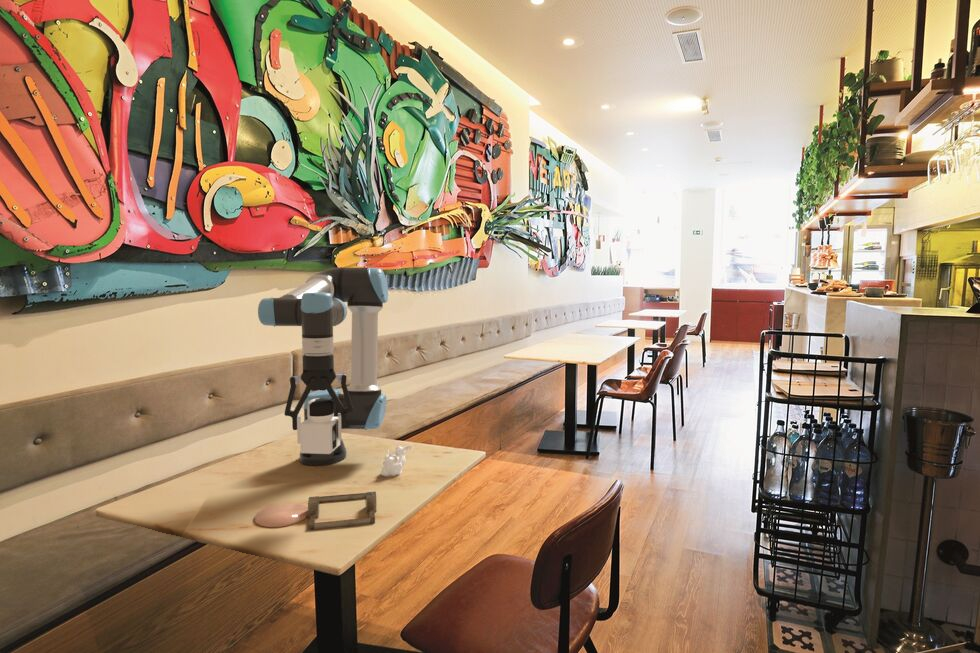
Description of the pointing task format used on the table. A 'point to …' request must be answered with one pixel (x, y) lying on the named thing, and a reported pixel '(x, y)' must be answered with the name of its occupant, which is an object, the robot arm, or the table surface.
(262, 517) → the pink flat disc
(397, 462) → the rabbit figurine
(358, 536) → the table surface
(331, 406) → the container
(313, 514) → the collar
